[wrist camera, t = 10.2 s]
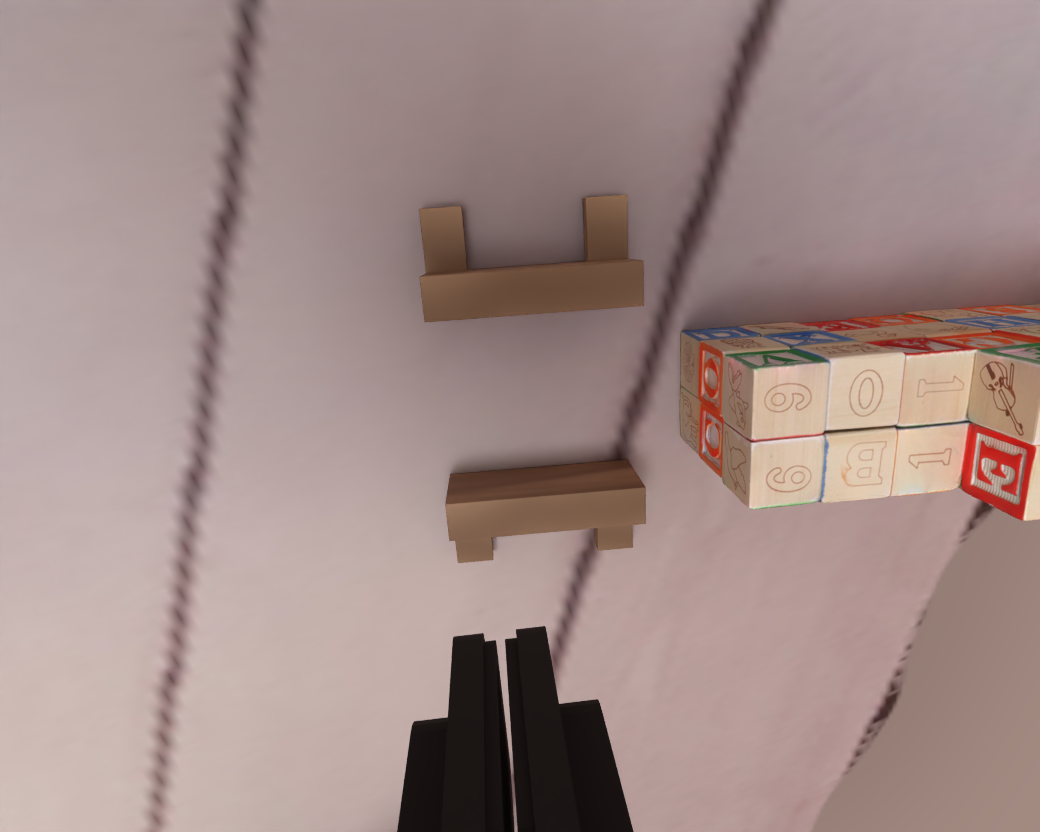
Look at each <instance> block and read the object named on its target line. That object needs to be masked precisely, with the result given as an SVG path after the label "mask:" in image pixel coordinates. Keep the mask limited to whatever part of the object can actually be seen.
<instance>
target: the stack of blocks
mask: <svg viewBox="0 0 1040 832" xmlns="http://www.w3.org/2000/svg"><path fill="white" fill-rule="evenodd" d="M680 429H681V437H682V439H683V440H684V441H685V442H686V443H687V444H688V445H689V446H690V447H691V448H692V449H693V450H694V451H695V452H697V453H698V454H699V456H700V458H701V459H702V460H703V461H704V462H705V463H706V464H707V465H708V466H709V467H710V468H711V469H712V470H713V471H714V472H715V473H717V474H718V475H719V476H720V477H721V478H722V480H723V483H724V484H725V485H726V486H727V487H728V488H729V489H730V490H731V491H732V492H733V493H734V494H735V495H736V496H737V497H738V498H739V499H740V500H741V501H742V502H743V503H744V504H745V505H746V506H747V507H748V508H749V509H762V508H771V507H780V506H790V505H801V504H807V503H814V502H817V501H818V502H821V503H831V502H841V501H852V500H861V499H870V498H882V497H887V496H905V495H916V494H924V493H932V492H941V491H948V490H952V489H955V488H957V487H959V488H960V489H962V490H963V491H964V492H966V493H968V494H969V495H971V496H973V497H975V498H977V499H980V500H982V501H984V502H986V503H988V504H990V505H991V506H993V507H995V508H997V509H1000V510H1001V511H1003V512H1005V513H1007V514H1009V515H1011V516H1013V517H1015V518H1017V519H1020V520H1022V521H1026V520H1037V519H1040V304H1036V305H1021V306H1014V305H1000V306H986V307H973V308H958V309H940V310H927V311H914V312H905V313H902V314H901V315H889V316H880V317H865V318H850V319H848V320H840V321H825V322H814V323H800V324H798V323H794V322H784V323H769V324H756V325H744V326H738V327H727V328H713V329H701V330H689V331H682V332H681V388H680Z"/></svg>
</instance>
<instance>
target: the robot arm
mask: <svg viewBox="0 0 1040 832" xmlns="http://www.w3.org/2000/svg"><path fill="white" fill-rule="evenodd" d="M516 634H517V638H512V639H505V645H506V660H507V676H508V691H509V706H510V721H511V736H512V751H513V766H514V781H515V797H516V812H517V826H518V832H633V828H632V824H631V821H630V817H629V813H628V809H627V805H626V801H625V798H624V794H623V790H622V786H621V782H620V778H619V774H618V771H617V767H616V763H615V759H614V755H613V751H612V748H611V744H610V740H609V736H608V732H607V728H606V725H605V721H604V717H603V713H602V709H601V706H600V703H599V701H598V699H597V700H588V701H580V702H572V703H564V704H559V702H558V696H557V690H556V684H555V679H554V673H553V667H552V661H551V655H550V650H549V644H548V638H547V632H546V627H545V626H542V627H533V628H525V629H516ZM397 832H514V816H513V800H512V783H511V769H510V758H509V749H508V741H507V732H506V723H505V715H504V706H503V697H502V689H501V680H500V671H499V663H498V654H497V645H496V640H494V641H486V642H485V639H484V634H483V633H482V634H473V635H464V636H456V637H454V638H453V646H452V662H451V678H450V694H449V710H448V718H439V719H431V720H423V721H415V722H414V723H413V725H412V729H411V735H410V742H409V750H408V757H407V764H406V772H405V779H404V786H403V794H402V801H401V808H400V816H399V823H398V830H397Z"/></svg>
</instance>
